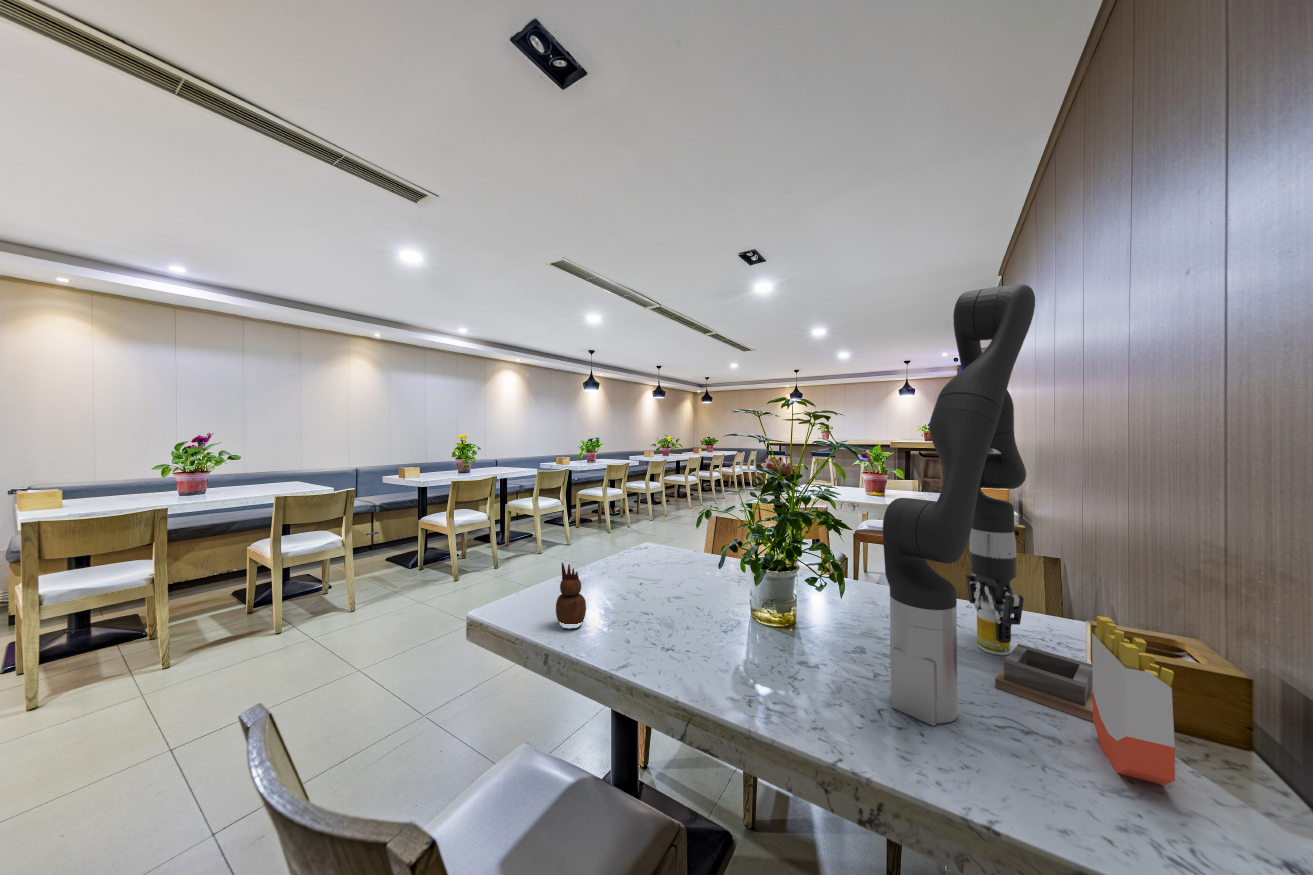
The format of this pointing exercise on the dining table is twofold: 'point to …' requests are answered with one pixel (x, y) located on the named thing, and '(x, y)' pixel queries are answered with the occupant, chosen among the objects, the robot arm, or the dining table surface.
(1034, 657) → the collar stand
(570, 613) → the wooden figurine
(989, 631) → the supplement bottle
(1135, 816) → the dining table surface
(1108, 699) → the french fries container
